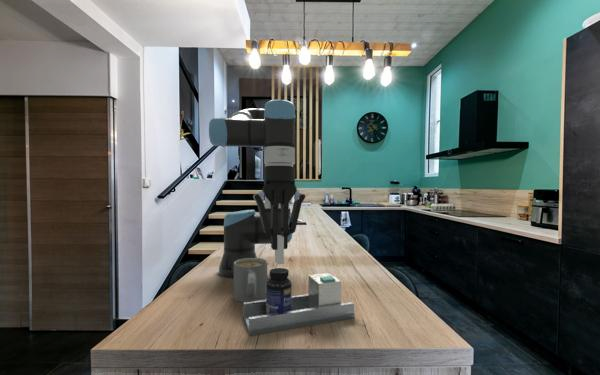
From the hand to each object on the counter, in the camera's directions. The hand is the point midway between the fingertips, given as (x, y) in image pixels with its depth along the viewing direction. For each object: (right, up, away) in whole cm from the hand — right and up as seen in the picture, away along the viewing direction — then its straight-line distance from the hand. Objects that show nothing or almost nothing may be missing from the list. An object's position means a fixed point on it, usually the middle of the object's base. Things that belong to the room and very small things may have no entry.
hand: (279, 262), depth 69 cm
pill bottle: (0, -13, 0) cm, 13 cm away
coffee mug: (-10, -14, +14) cm, 22 cm away
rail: (+5, -14, +2) cm, 15 cm away
